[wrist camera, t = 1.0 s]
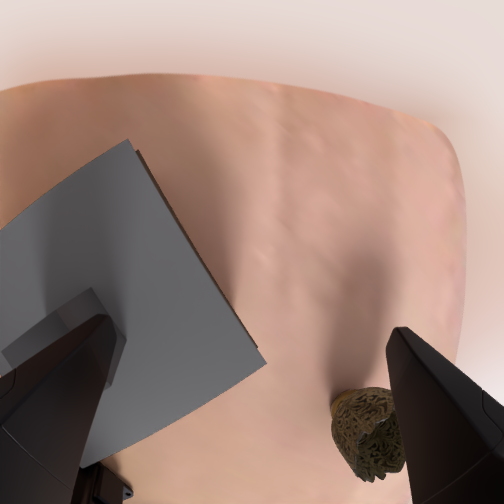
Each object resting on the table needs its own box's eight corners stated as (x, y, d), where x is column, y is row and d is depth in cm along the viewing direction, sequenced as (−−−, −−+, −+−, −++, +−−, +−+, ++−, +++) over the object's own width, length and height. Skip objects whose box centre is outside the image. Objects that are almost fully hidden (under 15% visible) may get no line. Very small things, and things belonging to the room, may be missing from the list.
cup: (337, 356, 24) (397, 393, 17) (388, 378, 26) (445, 410, 19) (293, 428, 24) (337, 481, 16) (350, 441, 26) (396, 483, 18)
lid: (85, 459, 13) (69, 526, 8) (-42, 279, 11) (-106, 294, 5) (261, 356, 16) (308, 409, 10) (130, 144, 14) (112, 91, 8)
